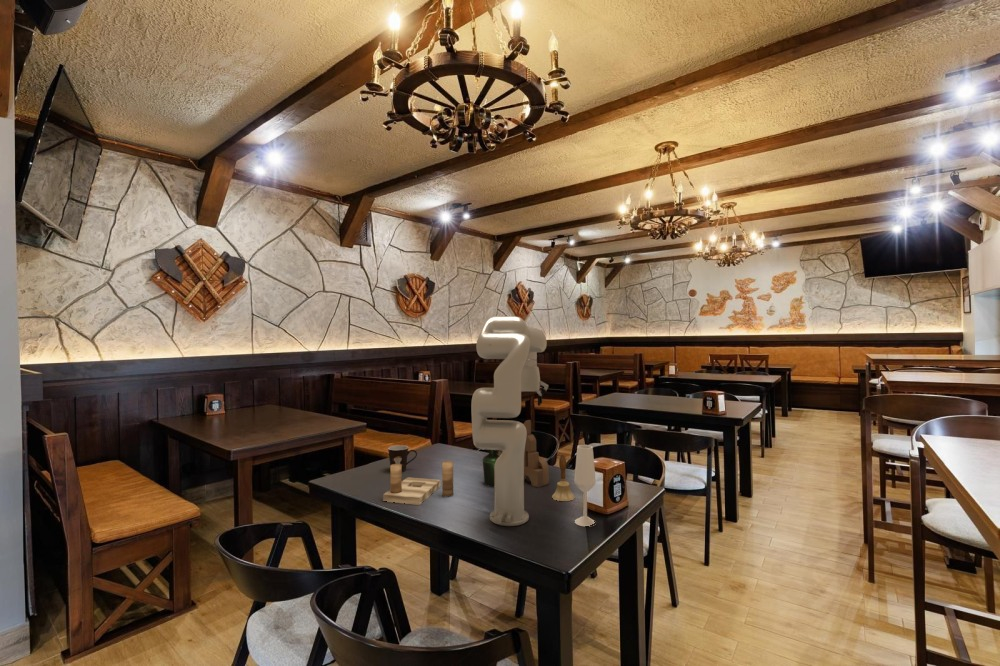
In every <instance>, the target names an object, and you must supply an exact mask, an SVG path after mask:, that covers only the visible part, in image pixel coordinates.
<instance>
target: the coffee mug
mask: <svg viewBox="0 0 1000 666" xmlns="http://www.w3.org/2000/svg"><path fill="white" fill-rule="evenodd" d="M387 450H388V459H389V466H390V465H392V464H401V465H402V473H404V472H406V471H407V470H406V469H407V466H408V464H410V463H412V461H414V460H415V459H416V458H417V456H418V452H417V450H414V449H410V450H409V446H408V445H403V444H401V445H400V444H397V445H391V446H389V447H388V448H387ZM411 452H414V453H415V455H414V457H413V458H412V459H410V460H408V456H409V454H410V453H411ZM407 460H408V461H407ZM405 470H406V471H405Z"/></svg>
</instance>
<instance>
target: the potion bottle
mask: <svg viewBox="0 0 1000 666" xmlns="http://www.w3.org/2000/svg"><path fill="white" fill-rule="evenodd" d="M487 451H488V454H487V455H485V456H483V458H482V468H483V480H484V485H485V484H486V485H485V486H487V485H489V486H488V487H495V470H494V467H495V462H496V460H497V459H498V457H499V456H500V455H499V454H497V452H498V450H487Z"/></svg>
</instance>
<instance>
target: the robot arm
mask: <svg viewBox="0 0 1000 666" xmlns="http://www.w3.org/2000/svg"><path fill="white" fill-rule="evenodd" d="M547 342H548V341H547V337H546V334H545V332H544V331H543V330H542V329H540V328H537V327H533V326H529V325H527V324H526V322H525V320H524V319H523V318H521V317H520V316H514V315H504V316H503V315H498V316H497V315H495V316H490V317H488V318H487V319H486V321H485V322H484V324H483V325H482V328H481V330H480V332H479V334H478V337H477V340H476V347H475V348H476V352H477V355H478V356H479V358H482V359H485V360H502V362H500V363H499V365H498V366H497V367H496V369H495V370H494V373H493V387H480V388H477V389H476V390H475V391H474V392H473V394H472V398H471V404H470V405H471V427H472V428H471V429H472V430H471V432H472V433H471V434H472V441H473V445H474V446H475V448H476V449H480V450H487V451H488V450H497V451H502V453H501V454H500V455H499V457H498V459H497V460H496V462H495V467H494V470H495V486H494V510H493V511H491V512H490V514H489V520H490V521H491V522H492V523H494V524H495V525H498V526H504V527H515V526H520V525H523V524H525V523H527V522H528V521H529V519H530V518H529V517H530V516H529V513H528V512H527V510H525V480H524V451H525V443H526V436H527V431H526V427H525V426H524V425H523V424H524V423H523V422H520V421H517V420H507V419H513V418H517V417H518V416H519V415H520V414H521V411H522V392H536V393H537V394H538V396H537V406H539V407H540V406H541V404H543V395H545V393H546V392H547V390H548V389H549V385H550V384H547V383H545V382H544V381H542V380H541V376H540V368H539V366H538V365H537V364H538V359H537V358H538V355H537V354H538V353H543V352H545V350H546V349H547V345H548V343H547ZM541 386H542V387H544V388H543V390H541ZM489 418H493V419H489ZM497 419H498V420H497ZM501 419H502V420H501ZM505 419H506V420H505Z"/></svg>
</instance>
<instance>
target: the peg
mask: <svg viewBox="0 0 1000 666" xmlns="http://www.w3.org/2000/svg"><path fill="white" fill-rule="evenodd" d="M441 470H442V476H441V477H442V481H441V482H442V488H441V489H442V490H441V491H442V494H441V495H442V496H443V497H445V496H450V497H452V495H453V496H454V461H453V460H446V461H442V468H441Z"/></svg>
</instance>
